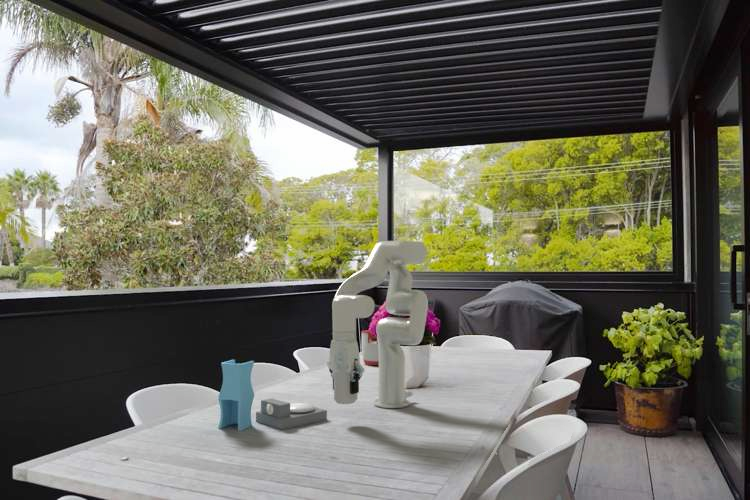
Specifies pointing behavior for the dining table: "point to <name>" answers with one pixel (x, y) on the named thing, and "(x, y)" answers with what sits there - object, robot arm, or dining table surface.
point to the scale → (288, 414)
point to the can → (343, 387)
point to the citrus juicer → (370, 348)
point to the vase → (236, 394)
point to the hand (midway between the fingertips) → (345, 390)
